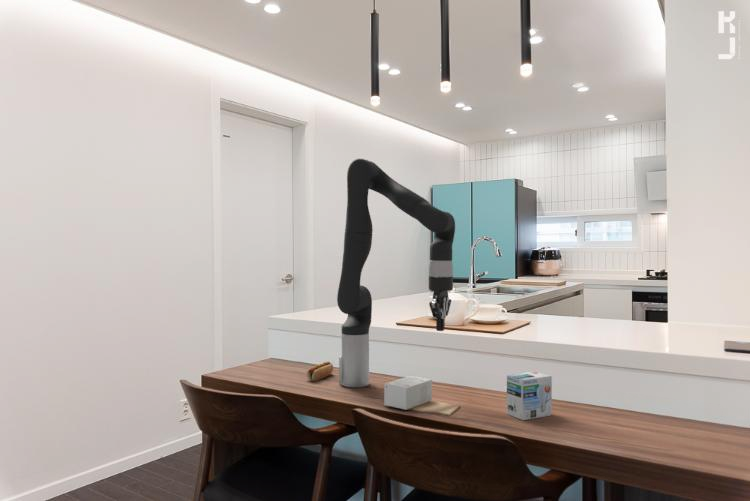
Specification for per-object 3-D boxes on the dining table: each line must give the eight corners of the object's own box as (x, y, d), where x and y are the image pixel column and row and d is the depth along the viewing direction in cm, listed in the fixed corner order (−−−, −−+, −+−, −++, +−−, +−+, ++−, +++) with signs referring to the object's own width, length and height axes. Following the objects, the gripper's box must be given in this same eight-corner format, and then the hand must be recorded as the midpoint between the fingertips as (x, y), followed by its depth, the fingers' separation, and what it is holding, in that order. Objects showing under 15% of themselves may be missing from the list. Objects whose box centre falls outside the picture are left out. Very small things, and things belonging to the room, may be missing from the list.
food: (322, 373, 197) (322, 359, 197) (336, 374, 194) (335, 360, 195) (303, 381, 184) (303, 367, 184) (317, 383, 182) (317, 368, 182)
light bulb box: (523, 421, 139) (522, 380, 139) (505, 414, 145) (505, 374, 145) (553, 415, 144) (552, 375, 144) (535, 408, 150) (534, 370, 150)
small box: (410, 396, 162) (383, 405, 152) (410, 375, 162) (383, 382, 152) (432, 400, 157) (406, 410, 147) (432, 379, 157) (406, 387, 147)
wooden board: (383, 405, 153) (383, 404, 153) (397, 398, 161) (397, 396, 161) (449, 415, 144) (449, 413, 144) (460, 407, 152) (460, 405, 152)
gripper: (437, 274, 173) (437, 327, 173) (421, 275, 162) (420, 332, 162) (459, 274, 170) (459, 328, 170) (444, 276, 158) (443, 334, 158)
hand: (440, 330), depth 166 cm, fingers closed
